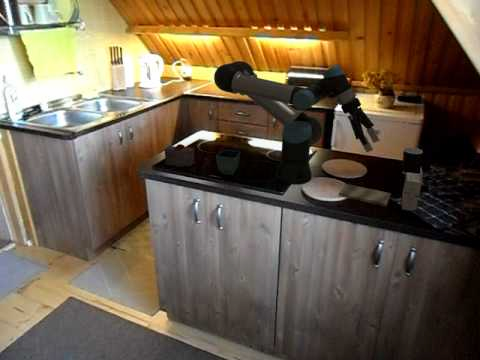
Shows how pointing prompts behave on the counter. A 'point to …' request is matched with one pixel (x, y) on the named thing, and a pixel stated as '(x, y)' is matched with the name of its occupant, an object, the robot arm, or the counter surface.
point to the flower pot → (228, 161)
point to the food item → (179, 156)
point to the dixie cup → (410, 159)
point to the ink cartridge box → (411, 190)
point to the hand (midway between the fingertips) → (373, 146)
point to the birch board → (365, 194)
